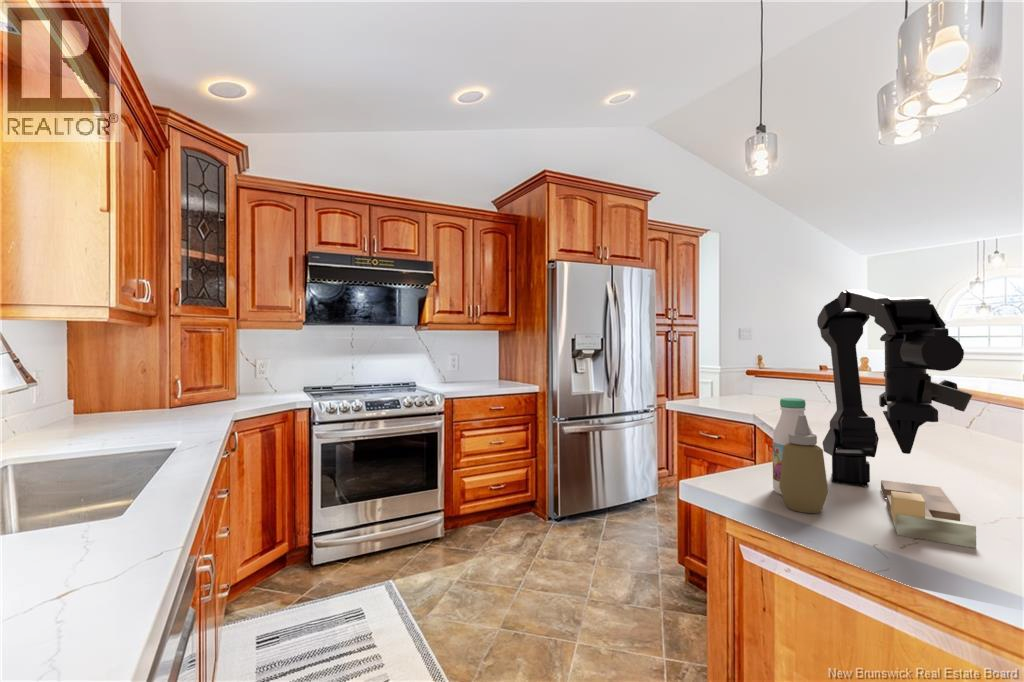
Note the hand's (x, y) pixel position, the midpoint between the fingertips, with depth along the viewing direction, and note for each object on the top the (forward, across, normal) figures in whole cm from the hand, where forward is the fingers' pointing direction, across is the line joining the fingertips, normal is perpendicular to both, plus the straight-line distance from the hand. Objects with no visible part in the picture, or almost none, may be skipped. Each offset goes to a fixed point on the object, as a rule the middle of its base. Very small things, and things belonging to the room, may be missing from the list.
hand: (906, 453), depth 85 cm
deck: (+12, +4, -2) cm, 13 cm away
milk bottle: (+12, +6, +18) cm, 22 cm away
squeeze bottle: (+12, -3, +16) cm, 20 cm away
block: (+10, -7, +1) cm, 12 cm away
